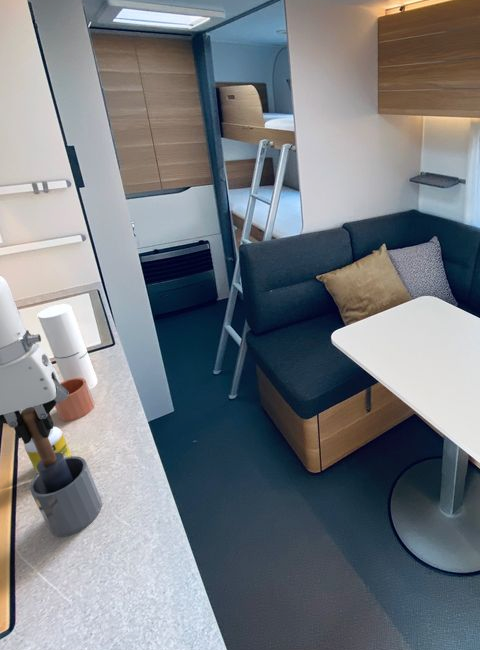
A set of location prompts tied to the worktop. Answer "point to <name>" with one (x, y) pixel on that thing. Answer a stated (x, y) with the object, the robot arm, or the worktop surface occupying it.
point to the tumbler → (68, 500)
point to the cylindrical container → (67, 343)
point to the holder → (75, 400)
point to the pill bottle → (56, 443)
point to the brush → (47, 456)
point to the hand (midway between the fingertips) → (38, 434)
